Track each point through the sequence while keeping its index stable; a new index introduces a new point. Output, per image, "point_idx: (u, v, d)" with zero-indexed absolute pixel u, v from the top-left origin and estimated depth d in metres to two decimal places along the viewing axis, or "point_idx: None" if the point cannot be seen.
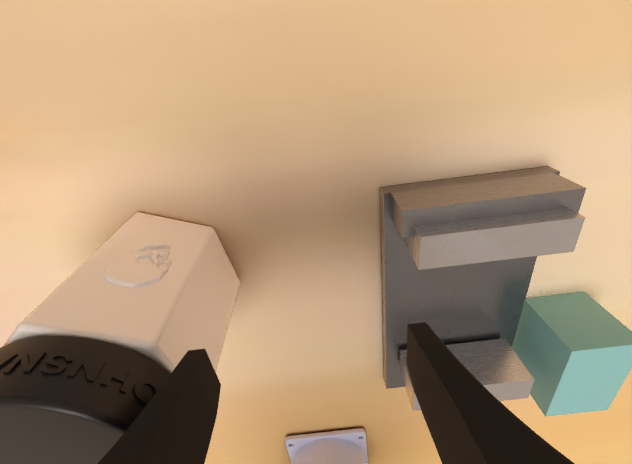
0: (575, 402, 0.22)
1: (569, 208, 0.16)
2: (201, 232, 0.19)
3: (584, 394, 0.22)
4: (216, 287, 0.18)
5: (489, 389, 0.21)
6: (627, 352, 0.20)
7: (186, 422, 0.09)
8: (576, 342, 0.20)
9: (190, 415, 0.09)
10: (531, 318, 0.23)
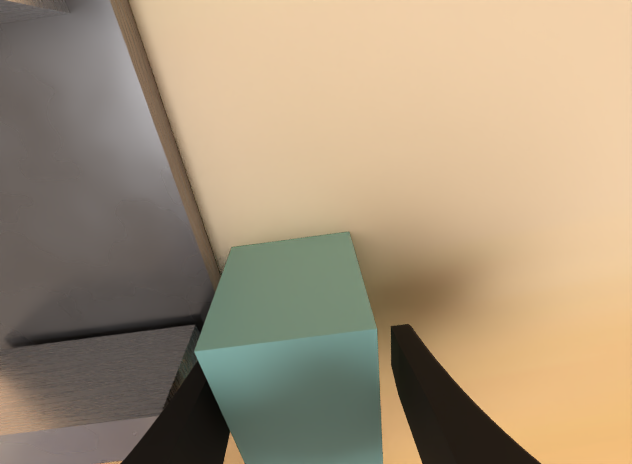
0: (300, 461, 0.10)
1: None
2: None
3: (307, 445, 0.10)
4: None
5: (69, 438, 0.09)
6: (344, 353, 0.08)
7: (207, 420, 0.09)
8: (229, 328, 0.08)
9: (210, 412, 0.09)
10: None
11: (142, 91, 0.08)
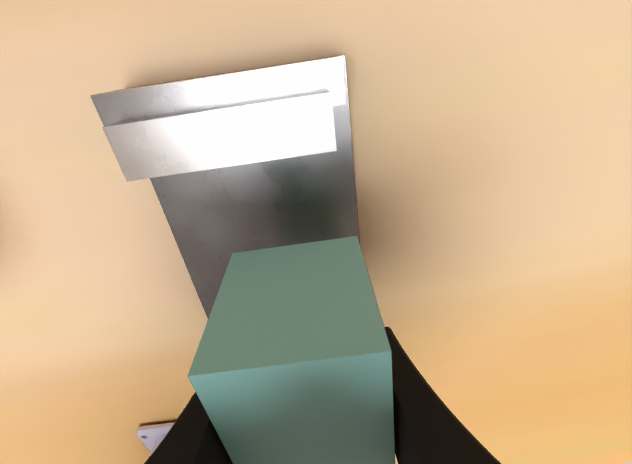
0: None
1: (328, 90, 0.12)
2: None
3: None
4: None
5: None
6: (355, 376, 0.07)
7: None
8: (226, 349, 0.07)
9: None
10: None
11: (353, 166, 0.16)
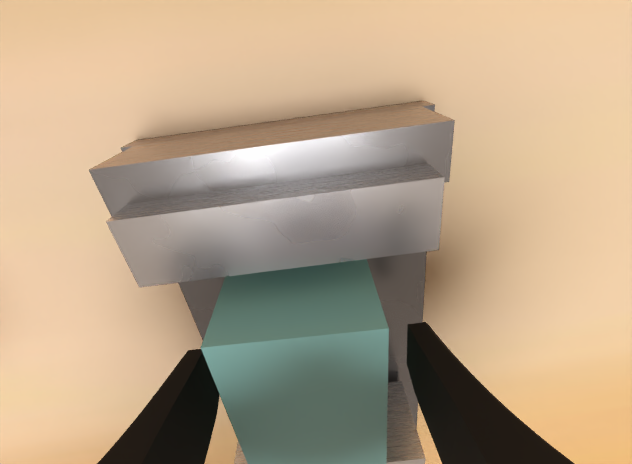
0: (303, 461, 0.10)
1: (428, 164, 0.08)
2: None
3: (311, 445, 0.10)
4: None
5: None
6: (354, 352, 0.08)
7: (186, 422, 0.09)
8: (236, 325, 0.08)
9: (190, 415, 0.09)
10: None
11: None
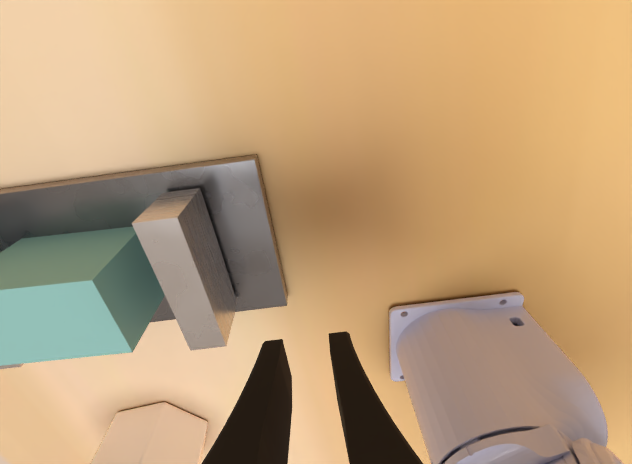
0: (88, 328, 0.15)
1: None
2: None
3: (66, 325, 0.15)
4: (121, 447, 0.24)
5: (167, 275, 0.15)
6: None
7: (277, 412, 0.09)
8: None
9: (279, 405, 0.09)
10: None
11: (7, 193, 0.17)
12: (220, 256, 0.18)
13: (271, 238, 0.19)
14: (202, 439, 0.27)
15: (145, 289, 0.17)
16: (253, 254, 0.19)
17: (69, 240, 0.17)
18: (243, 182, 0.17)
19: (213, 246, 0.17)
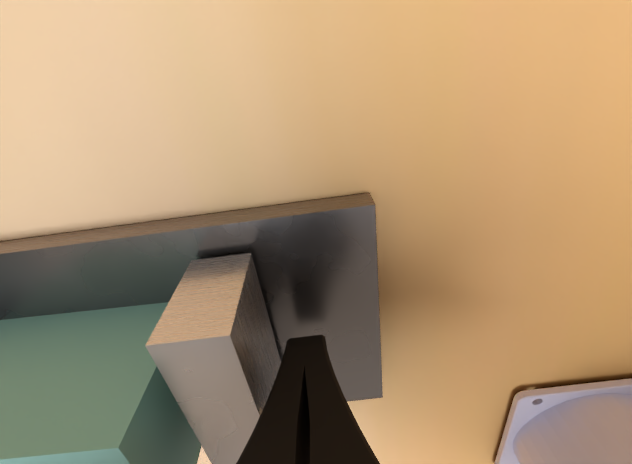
0: None
1: None
2: None
3: None
4: None
5: (204, 416, 0.09)
6: None
7: (306, 409, 0.09)
8: None
9: (307, 401, 0.09)
10: None
11: None
12: (274, 347, 0.12)
13: (378, 314, 0.12)
14: None
15: None
16: (348, 335, 0.13)
17: (74, 328, 0.11)
18: (351, 238, 0.11)
19: (268, 339, 0.11)
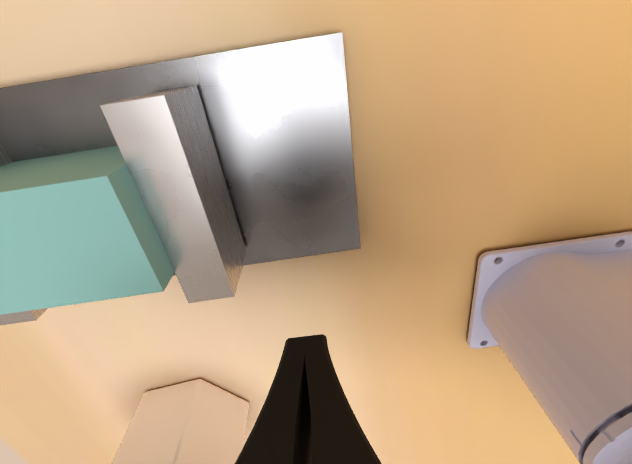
0: (104, 256, 0.11)
1: None
2: None
3: (74, 251, 0.11)
4: (153, 431, 0.20)
5: (154, 191, 0.11)
6: None
7: (304, 409, 0.09)
8: None
9: (305, 401, 0.09)
10: None
11: (14, 86, 0.13)
12: (224, 185, 0.14)
13: (351, 153, 0.15)
14: (245, 422, 0.23)
15: None
16: (326, 176, 0.15)
17: (73, 156, 0.13)
18: (324, 68, 0.13)
19: (215, 168, 0.13)
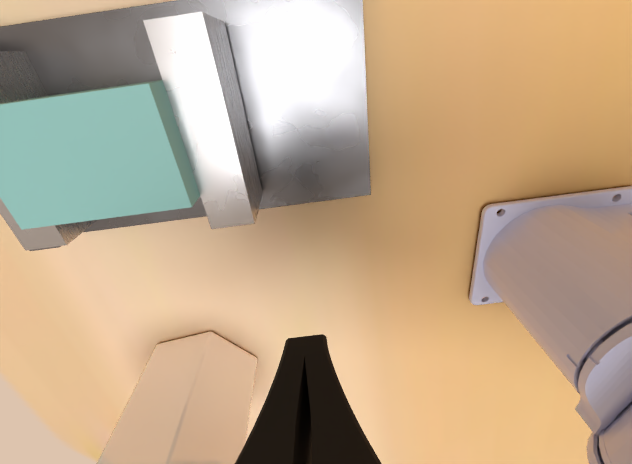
0: (139, 168, 0.12)
1: None
2: None
3: (112, 162, 0.12)
4: (167, 375, 0.21)
5: (186, 109, 0.12)
6: None
7: (304, 409, 0.09)
8: None
9: (305, 402, 0.09)
10: None
11: None
12: (246, 123, 0.15)
13: (365, 96, 0.15)
14: (254, 374, 0.24)
15: None
16: (341, 119, 0.16)
17: None
18: (343, 8, 0.14)
19: (239, 102, 0.14)
